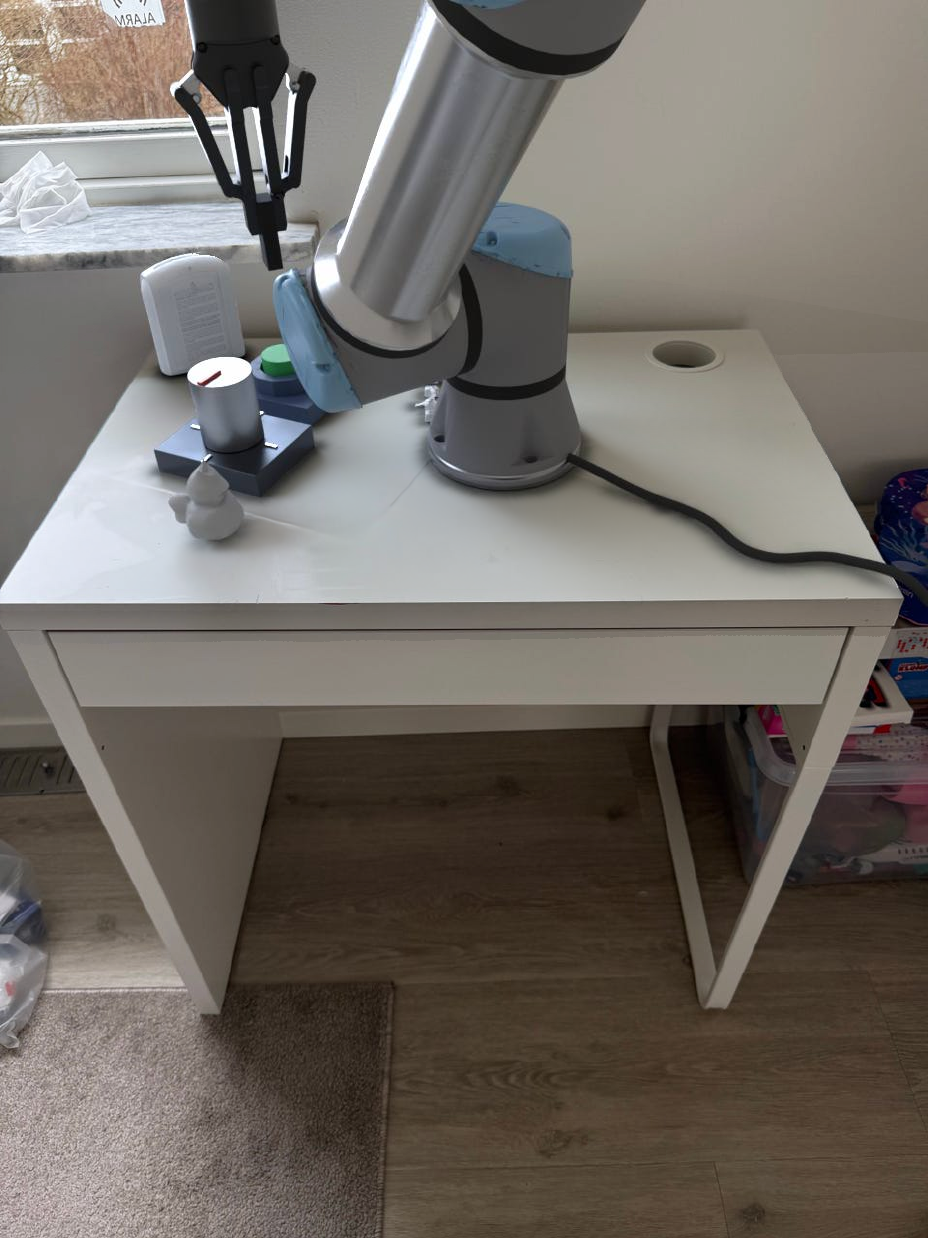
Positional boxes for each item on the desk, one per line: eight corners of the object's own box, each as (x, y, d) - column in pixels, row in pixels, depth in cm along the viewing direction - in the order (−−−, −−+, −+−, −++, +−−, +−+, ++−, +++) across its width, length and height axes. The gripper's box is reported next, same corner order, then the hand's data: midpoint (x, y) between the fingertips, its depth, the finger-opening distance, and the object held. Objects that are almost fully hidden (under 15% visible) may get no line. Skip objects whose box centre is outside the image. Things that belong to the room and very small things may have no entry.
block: (352, 388, 105) (348, 355, 103) (309, 427, 99) (304, 393, 97) (269, 371, 109) (264, 338, 106) (223, 407, 103) (216, 373, 100)
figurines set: (442, 422, 100) (441, 398, 98) (415, 423, 100) (413, 399, 98) (440, 369, 108) (439, 345, 107) (415, 370, 108) (414, 346, 107)
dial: (228, 415, 97) (214, 349, 92) (276, 429, 94) (264, 361, 89) (190, 444, 93) (173, 376, 88) (239, 458, 90) (224, 389, 86)
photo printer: (237, 343, 114) (217, 240, 106) (252, 356, 112) (232, 251, 104) (155, 367, 110) (128, 261, 102) (168, 381, 108) (141, 274, 99)
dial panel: (315, 445, 97) (312, 423, 95) (259, 498, 90) (254, 475, 88) (219, 422, 101) (214, 400, 99) (158, 471, 94) (151, 448, 92)
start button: (312, 362, 103) (310, 347, 101) (290, 380, 100) (287, 365, 98) (278, 355, 104) (275, 340, 103) (255, 373, 101) (252, 358, 100)
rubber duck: (238, 552, 84) (220, 476, 78) (166, 548, 84) (144, 472, 79) (255, 516, 88) (239, 441, 82) (187, 512, 88) (167, 438, 83)
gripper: (153, -3, 75) (214, 289, 90) (314, -18, 78) (346, 267, 94) (143, -16, 80) (202, 262, 96) (293, -29, 83) (327, 242, 99)
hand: (273, 264), depth 95 cm, fingers closed
